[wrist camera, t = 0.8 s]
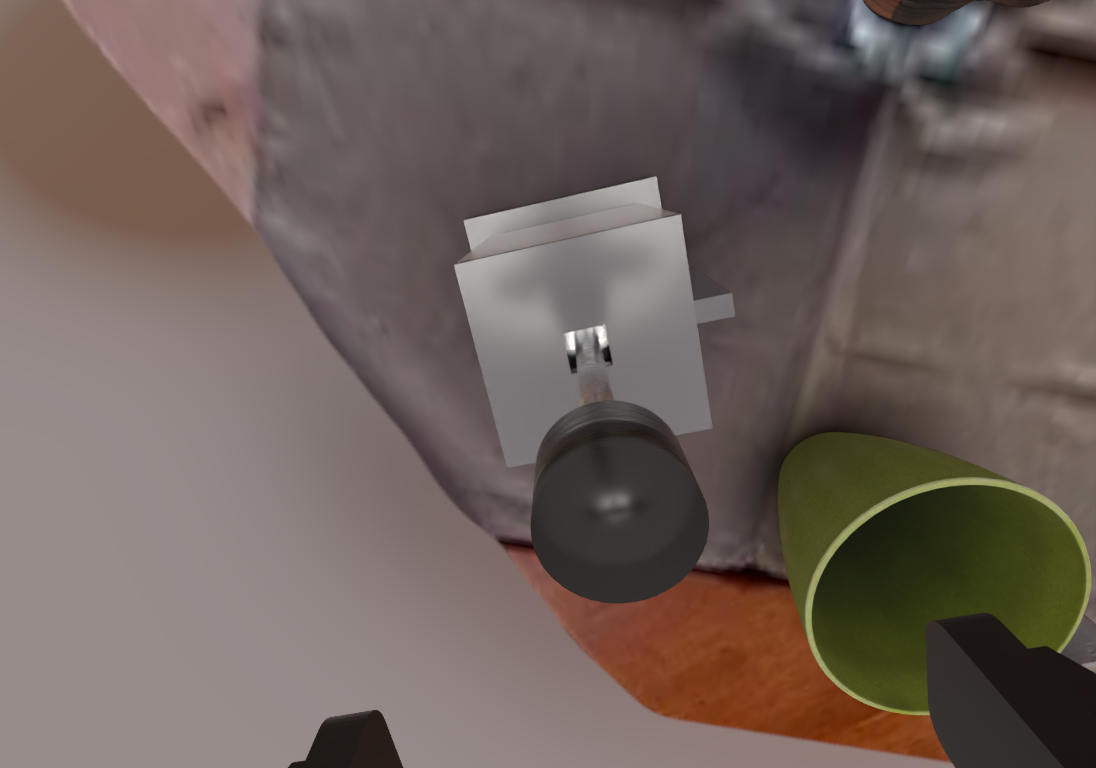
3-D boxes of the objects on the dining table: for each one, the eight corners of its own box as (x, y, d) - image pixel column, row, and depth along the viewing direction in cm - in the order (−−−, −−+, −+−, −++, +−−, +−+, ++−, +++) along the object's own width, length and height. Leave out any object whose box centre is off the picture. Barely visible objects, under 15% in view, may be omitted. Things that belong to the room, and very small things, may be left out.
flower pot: (716, 404, 47) (791, 511, 32) (919, 362, 46) (1098, 453, 31) (742, 570, 51) (819, 734, 36) (927, 537, 50) (1088, 691, 35)
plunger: (490, 273, 31) (398, 399, 13) (649, 238, 30) (780, 321, 13) (526, 420, 33) (490, 695, 16) (675, 391, 33) (814, 642, 15)
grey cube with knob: (466, 219, 43) (415, 240, 28) (667, 173, 42) (732, 168, 26) (510, 393, 47) (486, 497, 31) (695, 355, 46) (765, 444, 30)
